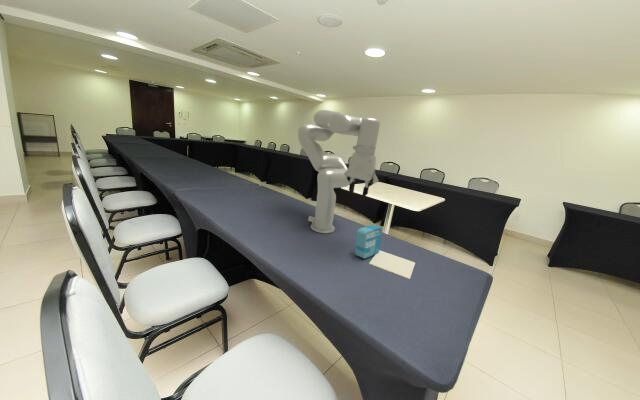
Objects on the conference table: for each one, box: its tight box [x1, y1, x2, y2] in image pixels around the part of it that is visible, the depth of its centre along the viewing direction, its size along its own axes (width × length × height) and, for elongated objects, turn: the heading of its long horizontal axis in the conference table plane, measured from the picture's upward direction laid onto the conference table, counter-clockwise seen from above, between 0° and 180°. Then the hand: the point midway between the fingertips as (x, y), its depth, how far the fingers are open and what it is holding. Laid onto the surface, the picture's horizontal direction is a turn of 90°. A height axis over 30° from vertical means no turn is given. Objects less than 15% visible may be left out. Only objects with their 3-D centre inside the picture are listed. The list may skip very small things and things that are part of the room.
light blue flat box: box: [354, 224, 383, 260], centre depth 102 cm, size 12×4×12 cm, turn 133°
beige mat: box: [368, 249, 416, 280], centre depth 98 cm, size 16×14×1 cm
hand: (357, 193), depth 100 cm, fingers open, 5 cm apart
